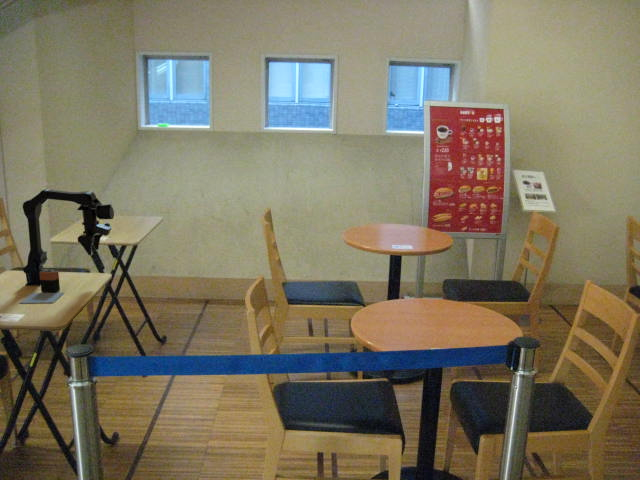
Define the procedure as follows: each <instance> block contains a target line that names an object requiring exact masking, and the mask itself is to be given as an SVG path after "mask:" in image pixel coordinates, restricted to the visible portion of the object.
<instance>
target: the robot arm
mask: <svg viewBox="0 0 640 480" xmlns="http://www.w3.org/2000/svg"><path fill="white" fill-rule="evenodd" d="M47 200H54V201H66V202H73V203H75V204H78V205H79V207H78V208H77V209H76V210H77V211H81V212H82V221H83V222H81V225H82V226H83V229H84V230H83V232H82V234H80V235H79V236H78V237H77V242H78V244H80V245H81V246H82V247H83V248H84V250H85V252H86V253H87V255H88V256H92V251H93V250H92V249H93V248H92V247H93V246H94V249H95V251H98V250H99V248H100V242H101V239H102V237H103V236H105V237H107V236H109V235H110V232H111V230H112V227H111V223H109V222H106V223H105V224H103V223H102V224H101V223H100V221H99V220H113V219H114V217H115V210H114V208H113V205H112V204H111V203H108V204H102V202H101V201H100V200H99V199H98V198H97V196H96V193H94V191H91V190H89V191H88V190H87V191H85V190H84V191H78V192H77V191H76V192H73V191H65V190H55V189H49V188H45V189H43V190H40V192H39V193H37V194H36V195H35V196H33V197H32V198H31V199H28V200H26V201H24V202H23V203H22V210H23V213H24V216H25V218H26V220H27V225H28V227H27V229H28V237H29V239H28V240H29V249H30V250H29V253H28V256H27V264H26V265H25V266H24V267H23V268H22V271H23V273H24V274H25V277H26V283H25V286H41V283H40V272H42V271H43V268H44V265H45V264H46V263H47V260H48V256H47V253H48V252H47V251H44V250H43V247H42V238H41V237H42V236H41V228H40V227H41V226H40V225H41V224H40V217H41V213H42V207H43V204H44V203H46V201H47Z"/></svg>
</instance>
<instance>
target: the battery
mask: <svg viewBox="0 0 640 480" xmlns="http://www.w3.org/2000/svg"><path fill="white" fill-rule="evenodd" d="M40 283H41V284H40V291H41V292H40V293H58V292H60V290H61V287H60V276H59V270H55V269H50V270H49V269H48V268H44V269H43V268H42V272H40Z"/></svg>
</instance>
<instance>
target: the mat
mask: <svg viewBox="0 0 640 480" xmlns="http://www.w3.org/2000/svg"><path fill="white" fill-rule="evenodd" d="M64 294H65V292H54V293H51V292H31V293H30V294H29V295H28V296H26V297H25V298H23V299H22V300H20V302H19V305H20V304H22V305H23V304H54V303H55V302H56V301H57V300H59V299H60V298H61V297H62V296H64Z"/></svg>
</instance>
